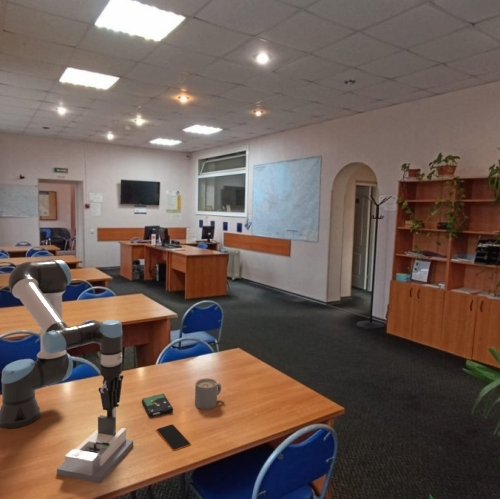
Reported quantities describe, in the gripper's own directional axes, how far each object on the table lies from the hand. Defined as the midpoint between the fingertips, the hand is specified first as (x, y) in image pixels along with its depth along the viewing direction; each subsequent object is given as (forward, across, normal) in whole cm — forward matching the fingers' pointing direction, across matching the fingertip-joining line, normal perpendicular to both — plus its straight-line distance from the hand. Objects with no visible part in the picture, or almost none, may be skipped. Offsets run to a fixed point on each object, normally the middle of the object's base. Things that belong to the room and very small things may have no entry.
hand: (111, 424), depth 146 cm
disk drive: (+9, +30, -4) cm, 32 cm away
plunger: (+6, -6, 0) cm, 8 cm away
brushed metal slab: (+6, -17, 0) cm, 18 cm away
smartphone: (+9, +11, -20) cm, 24 cm away
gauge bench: (+8, -8, 0) cm, 12 cm away
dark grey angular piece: (+6, -10, -1) cm, 12 cm away
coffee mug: (+8, +41, -25) cm, 48 cm away
